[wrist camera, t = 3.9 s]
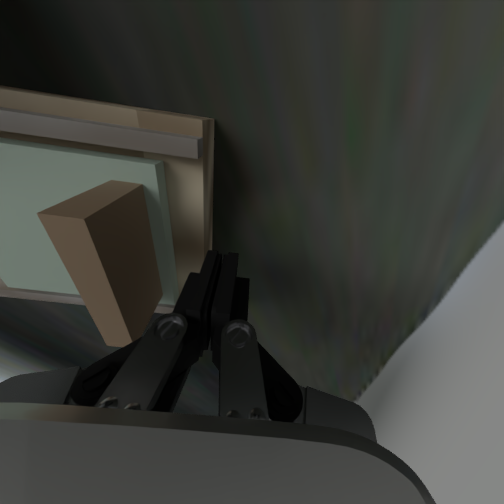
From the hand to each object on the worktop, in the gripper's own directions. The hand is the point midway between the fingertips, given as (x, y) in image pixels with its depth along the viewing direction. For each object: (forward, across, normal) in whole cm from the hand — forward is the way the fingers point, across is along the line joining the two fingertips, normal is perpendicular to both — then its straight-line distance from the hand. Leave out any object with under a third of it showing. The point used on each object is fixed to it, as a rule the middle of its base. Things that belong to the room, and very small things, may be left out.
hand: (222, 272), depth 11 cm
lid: (+2, +10, 0) cm, 10 cm away
